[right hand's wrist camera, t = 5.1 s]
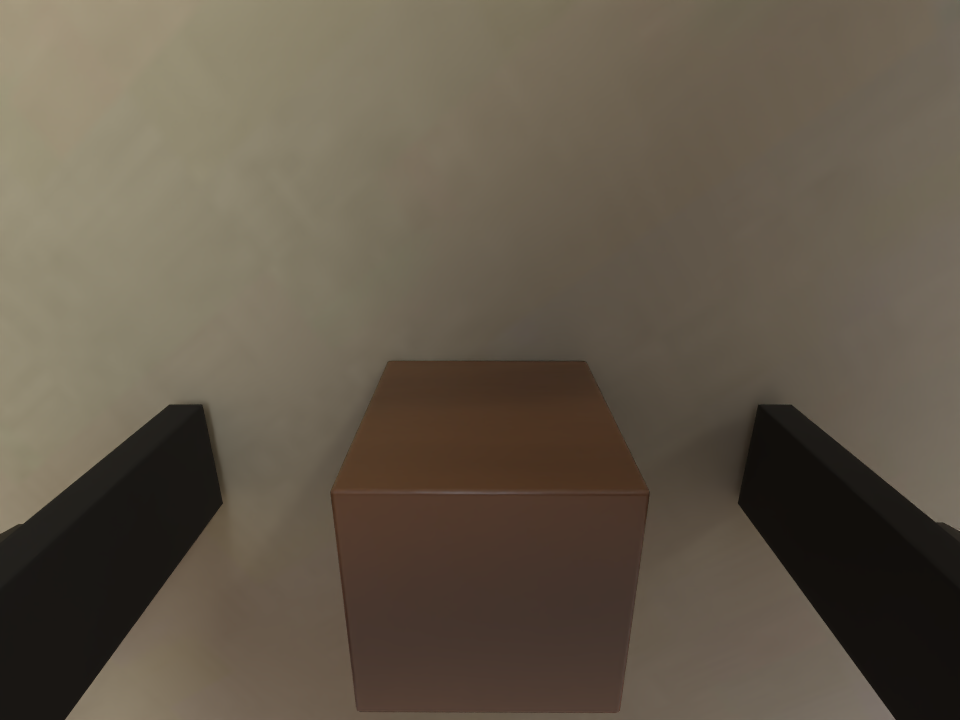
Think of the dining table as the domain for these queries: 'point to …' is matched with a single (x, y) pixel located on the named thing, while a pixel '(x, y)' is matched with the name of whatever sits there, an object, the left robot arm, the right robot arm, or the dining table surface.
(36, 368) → the dining table surface
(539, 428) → the walnut block
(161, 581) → the right robot arm
